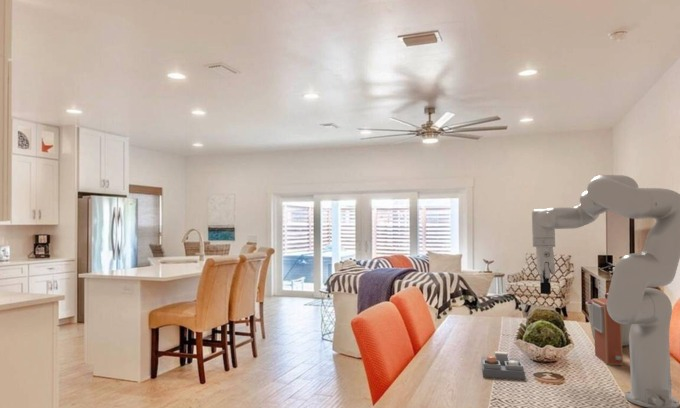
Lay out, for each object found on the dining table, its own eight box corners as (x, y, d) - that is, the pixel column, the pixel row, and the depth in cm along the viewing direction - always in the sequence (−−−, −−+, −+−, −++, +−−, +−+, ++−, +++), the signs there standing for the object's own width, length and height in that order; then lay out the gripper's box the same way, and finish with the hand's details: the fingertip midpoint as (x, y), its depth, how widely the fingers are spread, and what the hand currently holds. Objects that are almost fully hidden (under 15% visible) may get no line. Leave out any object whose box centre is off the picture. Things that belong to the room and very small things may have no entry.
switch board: (524, 379, 151) (524, 367, 152) (483, 376, 155) (482, 365, 155) (519, 366, 166) (519, 355, 166) (481, 363, 169) (481, 353, 169)
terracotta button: (496, 363, 156) (496, 358, 156) (486, 362, 157) (486, 358, 157) (496, 360, 159) (496, 356, 159) (486, 360, 160) (486, 355, 160)
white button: (519, 368, 154) (519, 363, 154) (508, 367, 155) (508, 362, 155) (518, 365, 157) (518, 360, 157) (508, 364, 158) (508, 360, 158)
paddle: (507, 363, 161) (507, 353, 161) (495, 362, 162) (495, 353, 162) (507, 361, 163) (507, 352, 163) (495, 360, 164) (494, 351, 164)
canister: (628, 339, 201) (626, 290, 202) (644, 350, 184) (642, 296, 185) (582, 337, 206) (580, 289, 207) (593, 348, 188) (591, 295, 189)
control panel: (611, 354, 178) (626, 366, 164) (591, 354, 180) (605, 365, 165) (608, 298, 179) (624, 304, 165) (589, 297, 181) (602, 304, 166)
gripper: (559, 243, 162) (560, 297, 161) (551, 242, 176) (553, 291, 175) (535, 243, 164) (537, 296, 163) (530, 242, 178) (531, 290, 177)
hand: (545, 293), depth 169 cm, fingers closed
